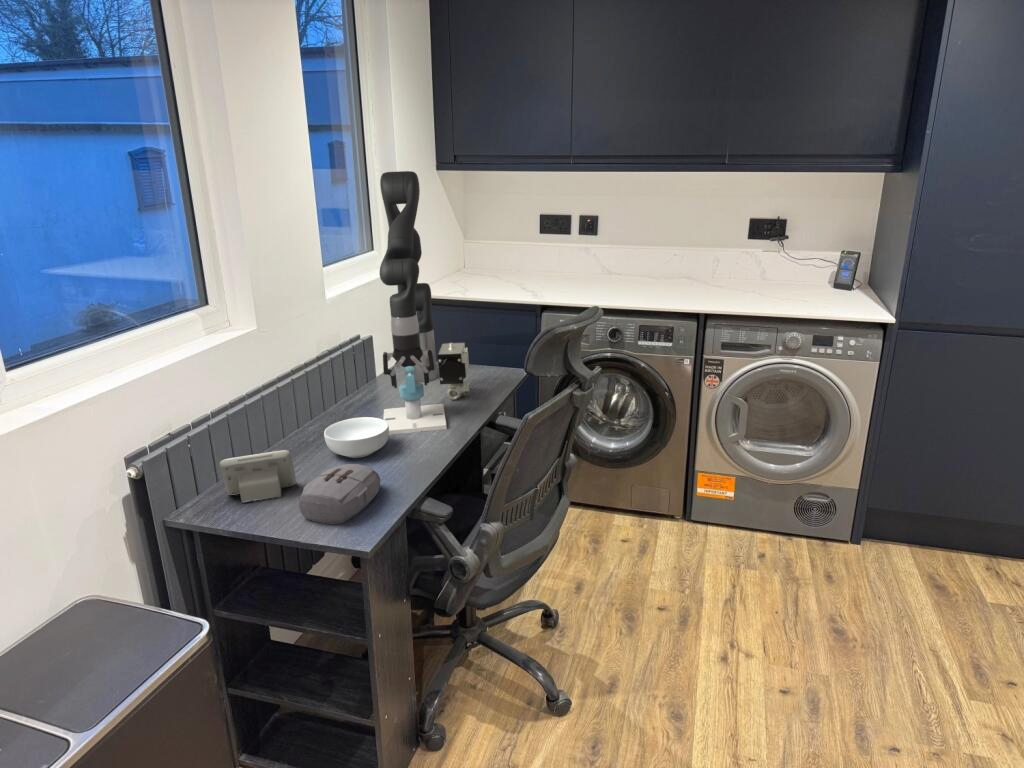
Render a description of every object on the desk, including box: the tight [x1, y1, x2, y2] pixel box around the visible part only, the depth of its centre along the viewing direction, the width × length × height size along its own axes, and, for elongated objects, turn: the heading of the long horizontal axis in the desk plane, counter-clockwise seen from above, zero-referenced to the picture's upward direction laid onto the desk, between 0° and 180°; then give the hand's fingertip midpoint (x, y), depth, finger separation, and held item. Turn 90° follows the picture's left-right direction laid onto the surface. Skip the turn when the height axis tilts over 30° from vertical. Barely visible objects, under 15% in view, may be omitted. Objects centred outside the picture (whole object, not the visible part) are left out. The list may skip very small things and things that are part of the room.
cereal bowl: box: [323, 416, 390, 459], centre depth 190 cm, size 17×17×7 cm
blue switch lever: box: [398, 366, 425, 401], centre depth 207 cm, size 12×7×8 cm, turn 8°
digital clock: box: [219, 449, 297, 502], centre depth 169 cm, size 16×9×11 cm, turn 95°
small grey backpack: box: [298, 463, 381, 525], centre depth 163 cm, size 15×8×20 cm
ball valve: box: [437, 341, 471, 401], centre depth 227 cm, size 18×8×18 cm, turn 179°
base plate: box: [382, 398, 448, 436], centre depth 210 cm, size 18×18×8 cm
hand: (410, 386), depth 203 cm, fingers open, 8 cm apart
